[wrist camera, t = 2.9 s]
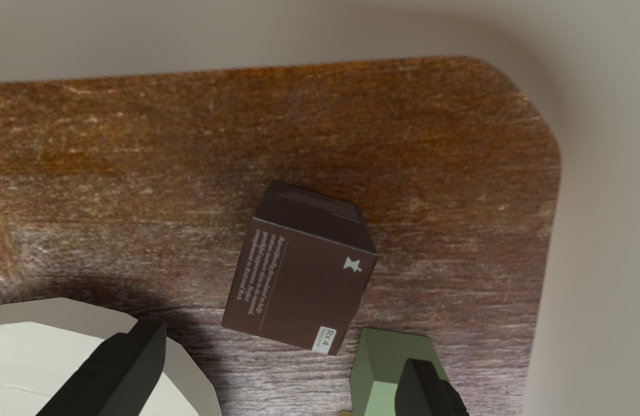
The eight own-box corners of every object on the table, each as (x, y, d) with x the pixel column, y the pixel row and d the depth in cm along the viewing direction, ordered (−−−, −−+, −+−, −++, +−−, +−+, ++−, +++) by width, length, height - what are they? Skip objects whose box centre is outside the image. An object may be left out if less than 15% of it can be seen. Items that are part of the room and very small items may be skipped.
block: (428, 336, 25) (455, 392, 20) (411, 389, 26) (431, 453, 21) (363, 326, 24) (374, 380, 20) (349, 380, 26) (355, 442, 21)
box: (273, 176, 21) (250, 212, 14) (362, 205, 22) (383, 253, 15) (248, 259, 23) (217, 328, 16) (331, 284, 23) (337, 361, 16)
